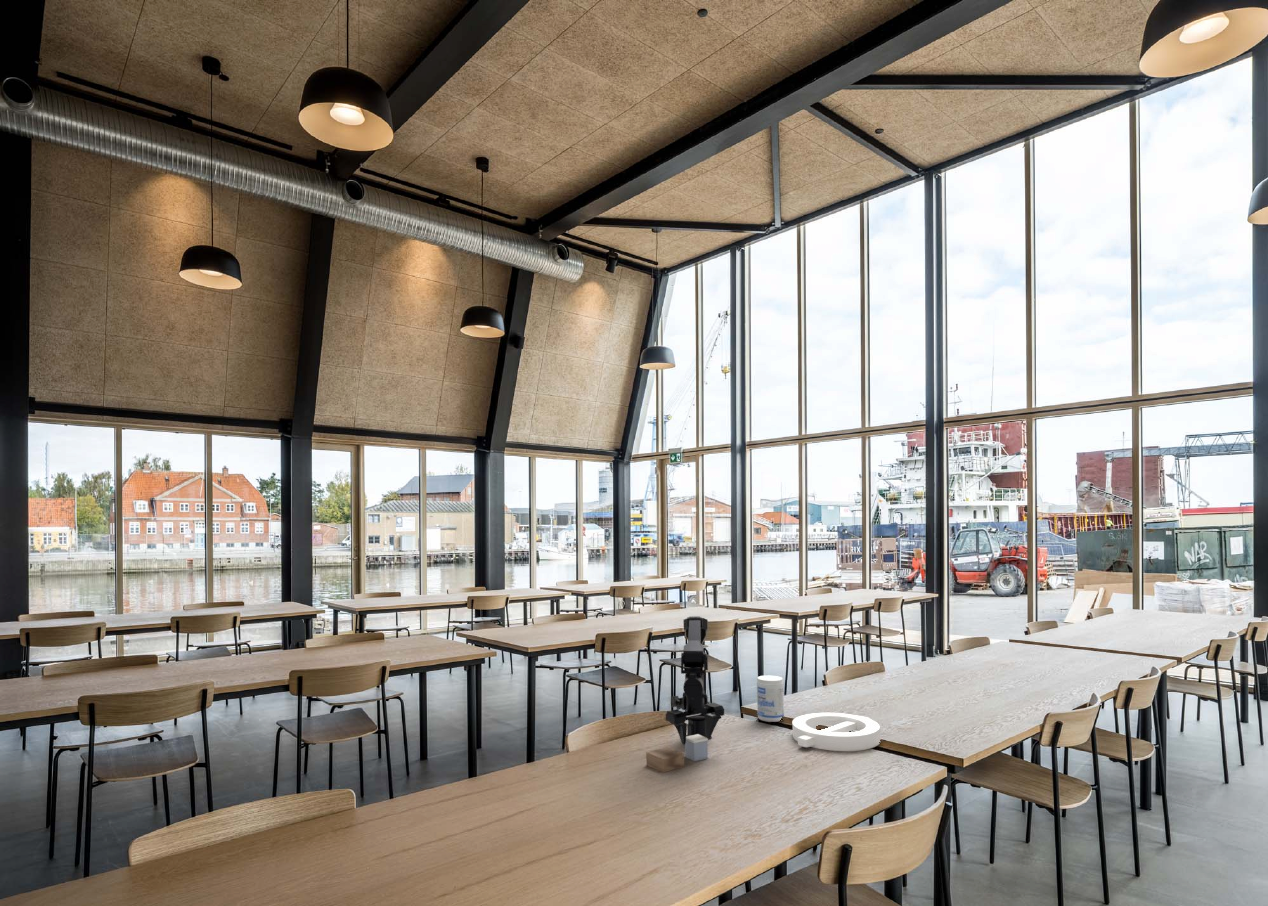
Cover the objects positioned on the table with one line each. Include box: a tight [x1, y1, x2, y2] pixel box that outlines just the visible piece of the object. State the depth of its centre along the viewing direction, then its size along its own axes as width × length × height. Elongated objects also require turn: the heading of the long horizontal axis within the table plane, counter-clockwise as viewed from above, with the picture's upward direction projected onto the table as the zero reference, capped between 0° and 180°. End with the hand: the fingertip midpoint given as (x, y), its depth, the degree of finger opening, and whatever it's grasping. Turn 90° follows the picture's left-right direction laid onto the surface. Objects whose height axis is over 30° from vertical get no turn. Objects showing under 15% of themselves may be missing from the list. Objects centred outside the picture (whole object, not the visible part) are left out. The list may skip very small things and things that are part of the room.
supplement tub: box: [756, 674, 785, 723], centre depth 259 cm, size 10×10×15 cm
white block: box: [684, 734, 709, 762], centre depth 218 cm, size 5×5×6 cm
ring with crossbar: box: [791, 712, 881, 752], centre depth 235 cm, size 28×28×5 cm
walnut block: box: [645, 746, 685, 773], centre depth 211 cm, size 8×8×4 cm
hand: (696, 741), depth 218 cm, fingers open, 9 cm apart
